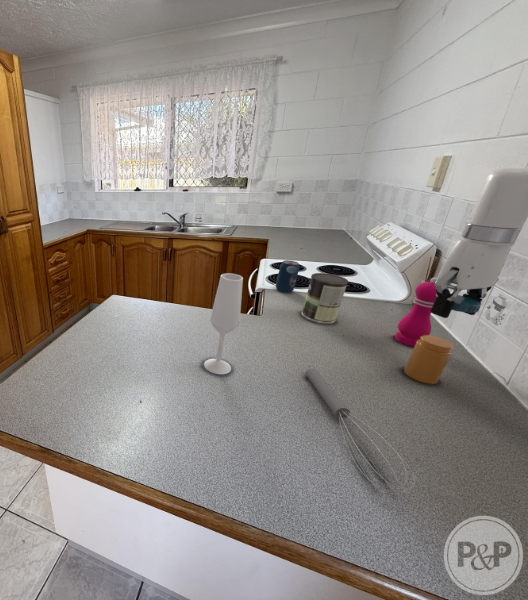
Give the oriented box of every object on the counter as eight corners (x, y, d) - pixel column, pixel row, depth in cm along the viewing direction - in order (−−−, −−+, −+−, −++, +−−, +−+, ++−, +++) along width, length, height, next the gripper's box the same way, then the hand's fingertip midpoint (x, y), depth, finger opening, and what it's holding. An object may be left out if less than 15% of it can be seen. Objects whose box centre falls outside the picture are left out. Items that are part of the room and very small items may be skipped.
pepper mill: (421, 339, 93) (450, 276, 85) (426, 350, 88) (458, 284, 80) (391, 332, 97) (416, 271, 89) (394, 343, 91) (421, 278, 83)
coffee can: (296, 316, 106) (307, 277, 100) (307, 307, 113) (317, 270, 107) (330, 327, 99) (343, 286, 94) (339, 317, 106) (352, 278, 100)
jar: (429, 370, 79) (445, 336, 75) (443, 386, 73) (462, 350, 69) (399, 365, 81) (413, 332, 77) (411, 380, 75) (427, 345, 71)
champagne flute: (223, 378, 75) (239, 284, 65) (198, 366, 79) (210, 276, 69) (235, 366, 79) (252, 276, 69) (212, 355, 83) (224, 270, 74)
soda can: (292, 294, 124) (299, 266, 119) (273, 291, 127) (279, 262, 123) (294, 289, 129) (301, 261, 125) (276, 286, 133) (282, 258, 128)
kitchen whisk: (319, 372, 77) (326, 351, 75) (415, 510, 47) (433, 482, 44) (293, 370, 78) (299, 348, 75) (371, 505, 47) (386, 476, 45)
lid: (445, 310, 67) (448, 303, 66) (428, 298, 73) (430, 291, 73) (486, 314, 65) (490, 307, 65) (465, 302, 71) (468, 295, 71)
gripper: (497, 229, 68) (462, 304, 75) (434, 232, 65) (404, 310, 72) (546, 236, 61) (502, 317, 68) (478, 240, 58) (440, 325, 65)
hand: (452, 313), depth 70 cm, fingers closed on lid, 6 cm apart
